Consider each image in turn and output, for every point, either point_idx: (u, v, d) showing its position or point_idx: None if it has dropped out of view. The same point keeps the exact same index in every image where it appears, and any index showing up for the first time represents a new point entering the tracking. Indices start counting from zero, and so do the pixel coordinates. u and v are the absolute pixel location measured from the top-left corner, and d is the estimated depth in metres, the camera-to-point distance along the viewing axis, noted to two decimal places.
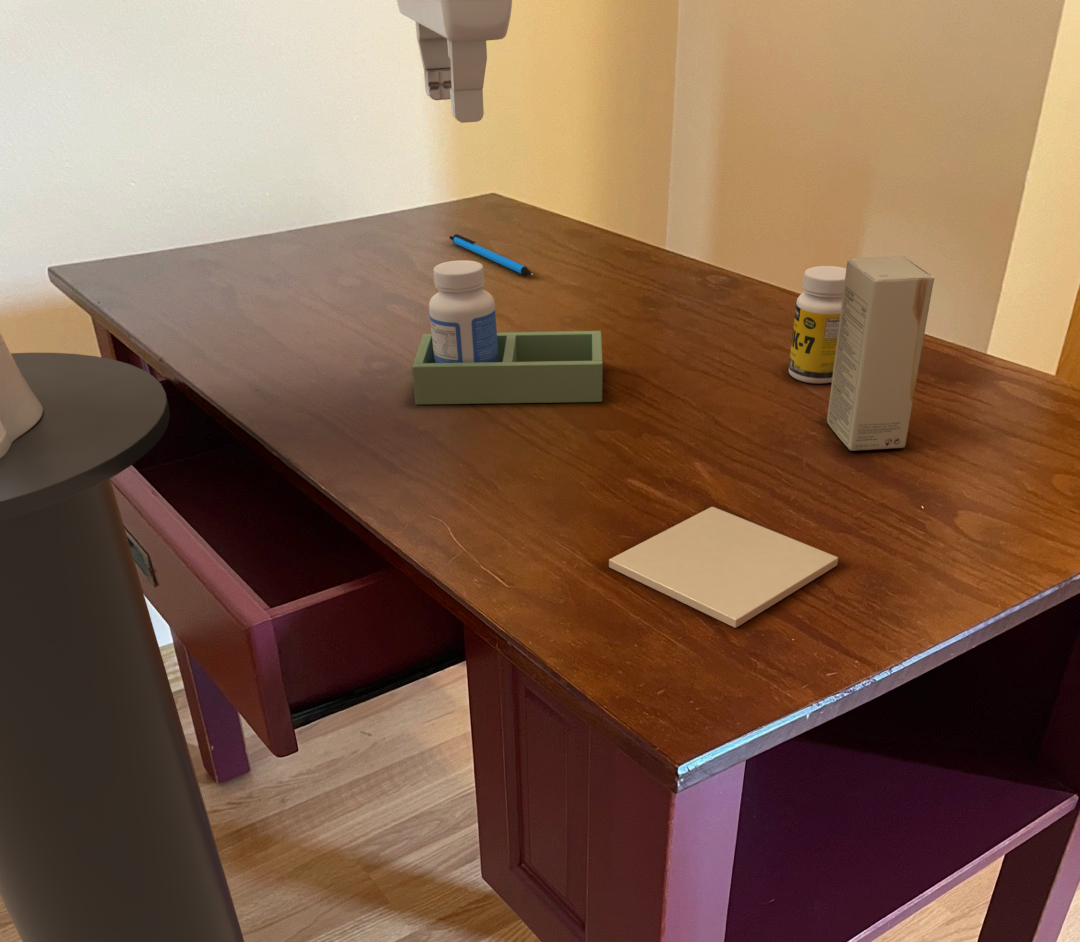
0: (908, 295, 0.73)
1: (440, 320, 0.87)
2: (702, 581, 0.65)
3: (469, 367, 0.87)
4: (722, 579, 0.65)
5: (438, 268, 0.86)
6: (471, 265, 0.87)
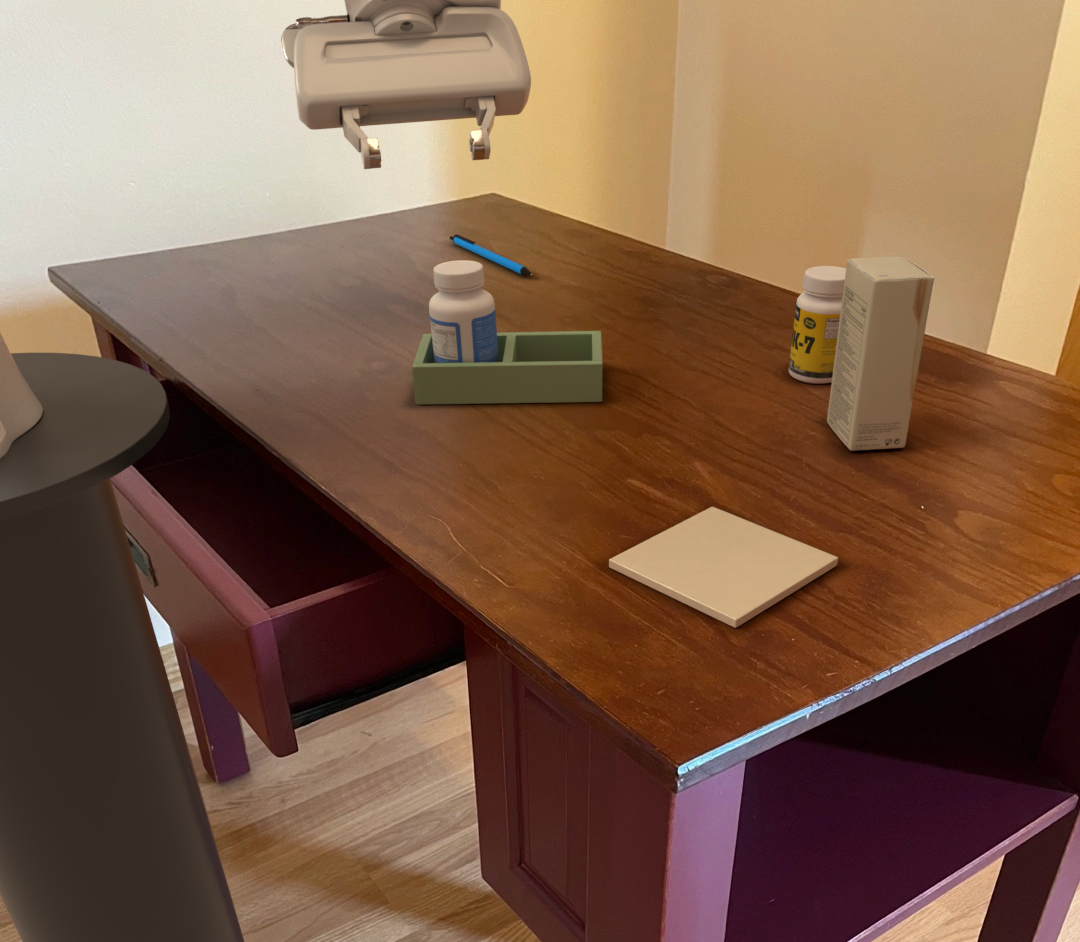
0: (908, 294, 0.73)
1: (440, 320, 0.87)
2: (702, 581, 0.65)
3: (469, 367, 0.87)
4: (722, 579, 0.65)
5: (438, 268, 0.86)
6: (471, 265, 0.87)
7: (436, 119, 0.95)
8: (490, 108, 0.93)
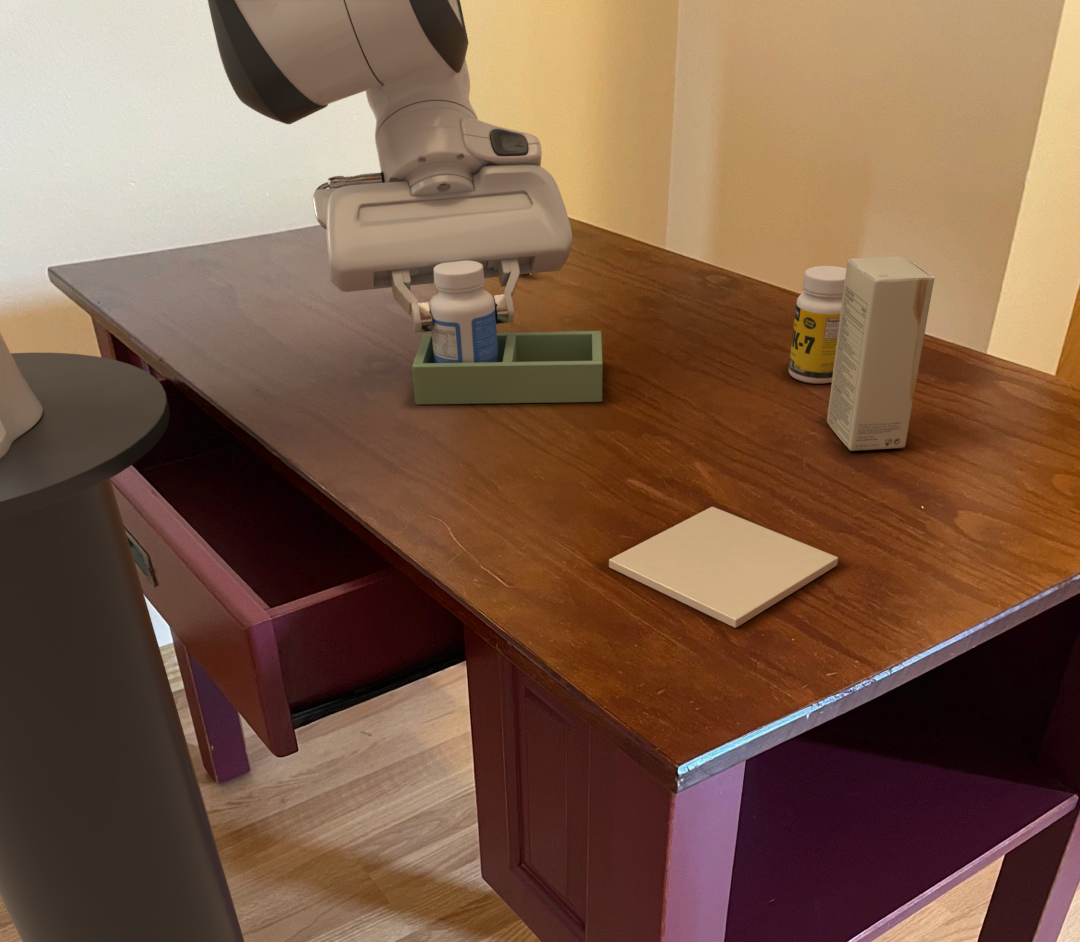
0: (908, 295, 0.73)
1: (440, 320, 0.87)
2: (702, 581, 0.65)
3: (469, 367, 0.87)
4: (722, 579, 0.65)
5: (438, 268, 0.86)
6: (471, 265, 0.87)
7: None
8: (514, 271, 0.89)
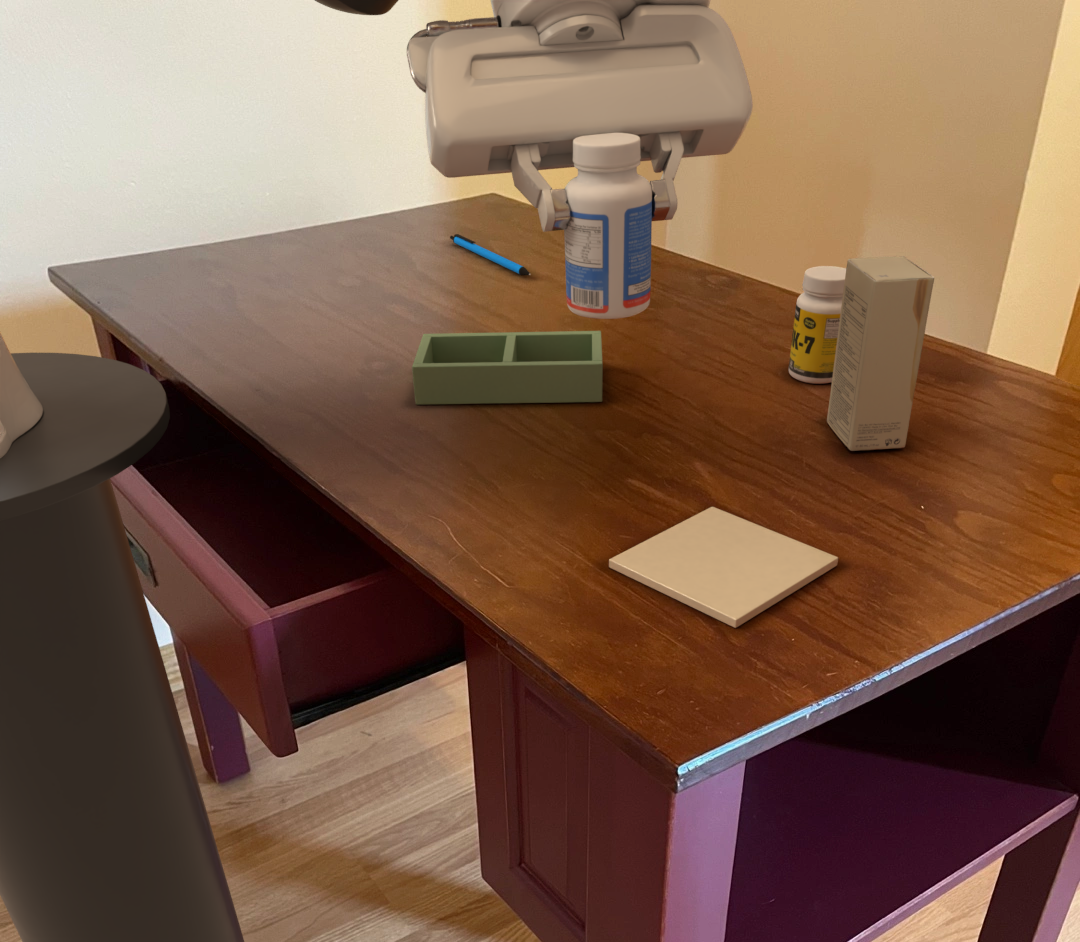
0: (908, 295, 0.73)
1: (582, 211, 0.64)
2: (702, 581, 0.65)
3: (469, 367, 0.87)
4: (722, 579, 0.65)
5: (580, 140, 0.64)
6: (624, 137, 0.64)
7: None
8: (676, 149, 0.66)
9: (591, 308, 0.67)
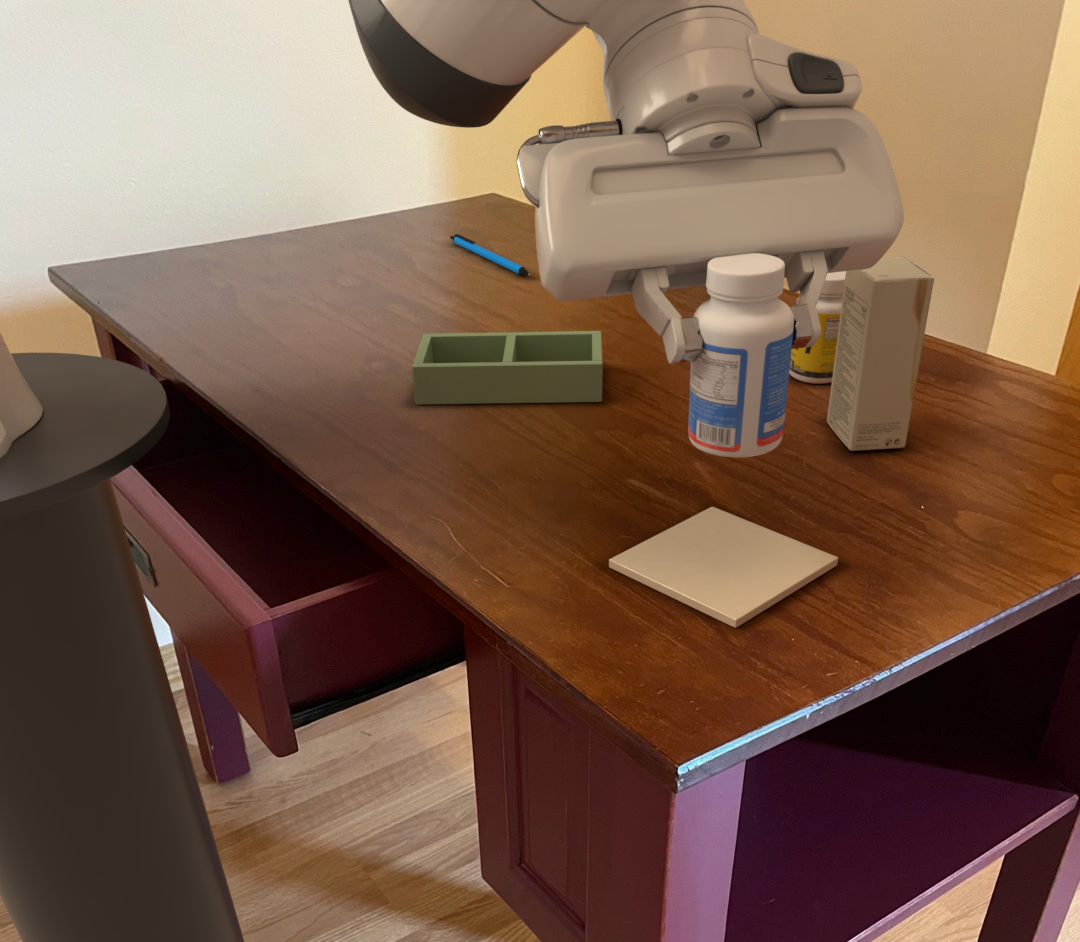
0: (908, 295, 0.73)
1: (717, 344, 0.57)
2: (702, 581, 0.65)
3: (469, 367, 0.87)
4: (722, 579, 0.65)
5: (716, 265, 0.56)
6: (765, 260, 0.56)
7: None
8: (819, 270, 0.59)
9: (720, 446, 0.60)
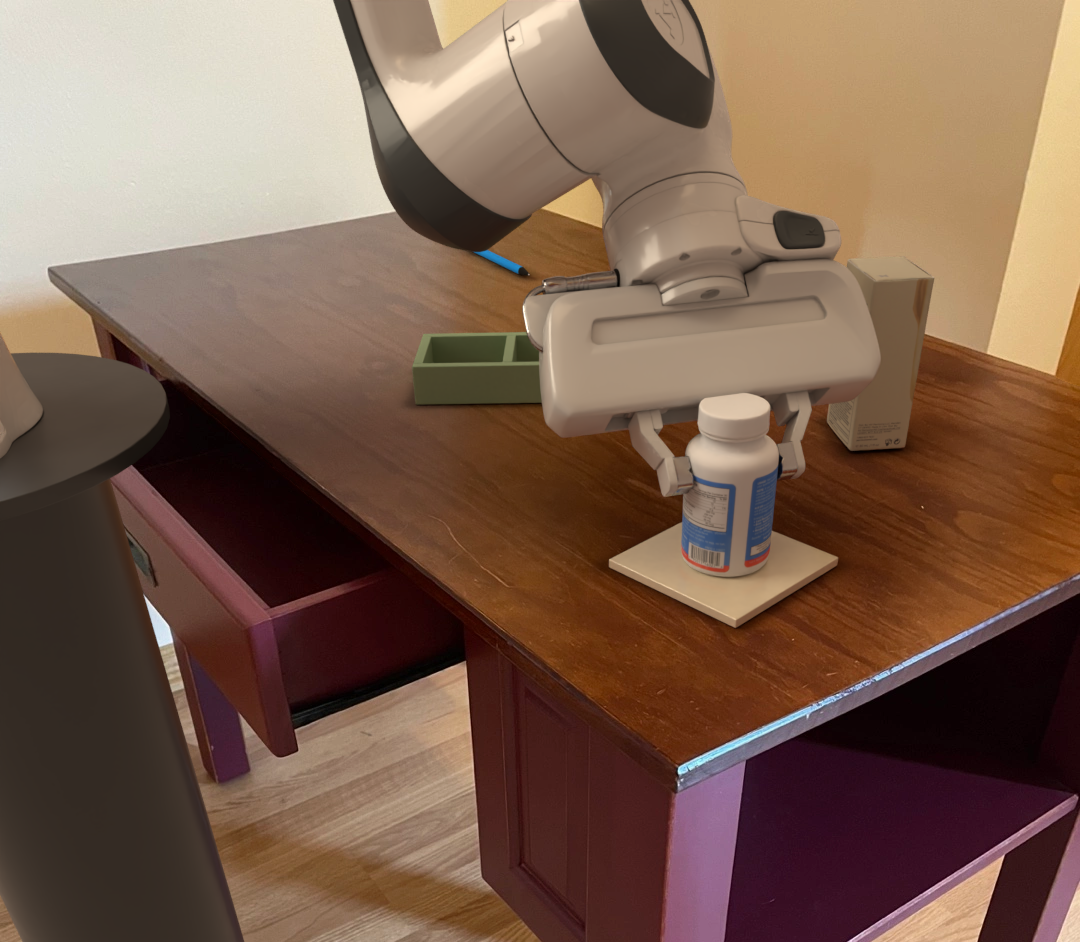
0: (908, 295, 0.73)
1: (708, 479, 0.61)
2: (702, 581, 0.65)
3: (469, 367, 0.87)
4: (722, 579, 0.65)
5: (707, 407, 0.61)
6: (752, 402, 0.61)
7: None
8: (804, 409, 0.63)
9: (710, 567, 0.65)
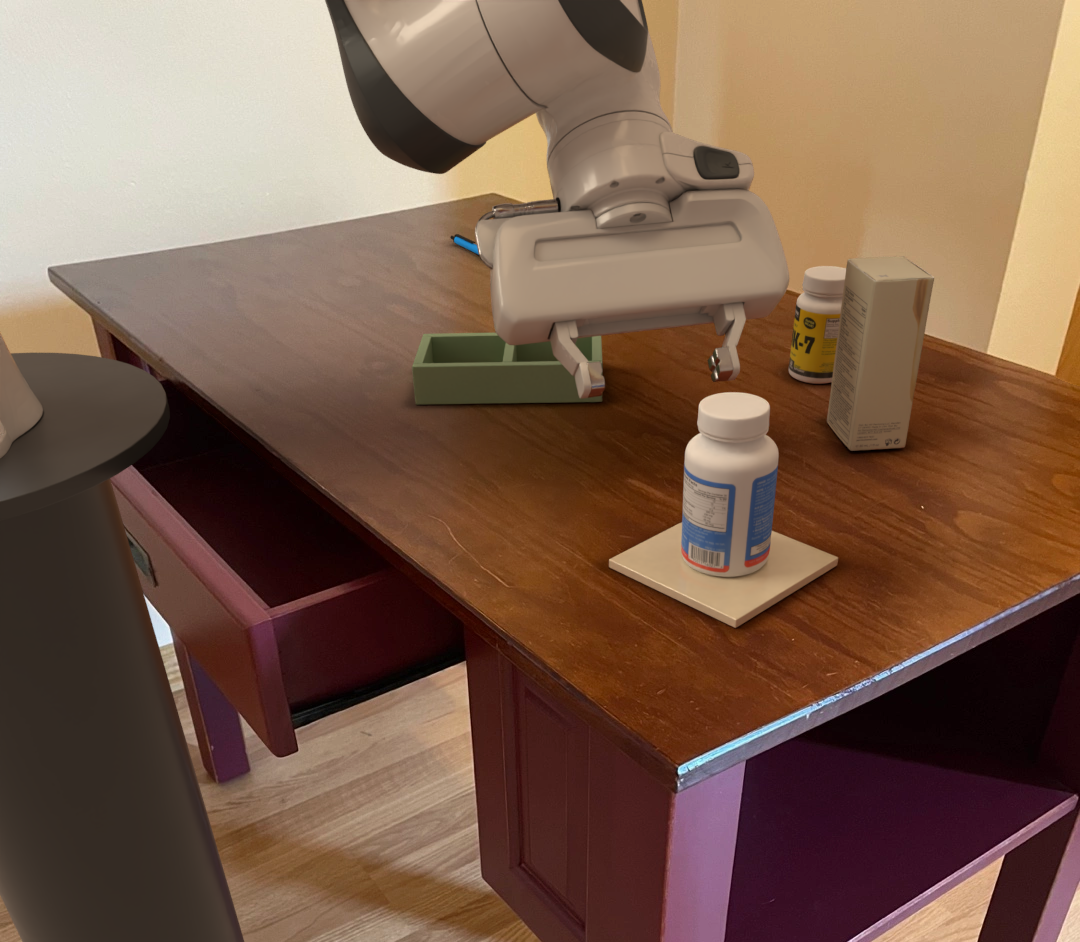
0: (908, 295, 0.73)
1: (707, 479, 0.61)
2: (702, 581, 0.65)
3: (469, 367, 0.87)
4: (722, 579, 0.65)
5: (706, 407, 0.61)
6: (752, 402, 0.61)
7: (665, 327, 0.74)
8: (739, 318, 0.73)
9: (710, 567, 0.65)
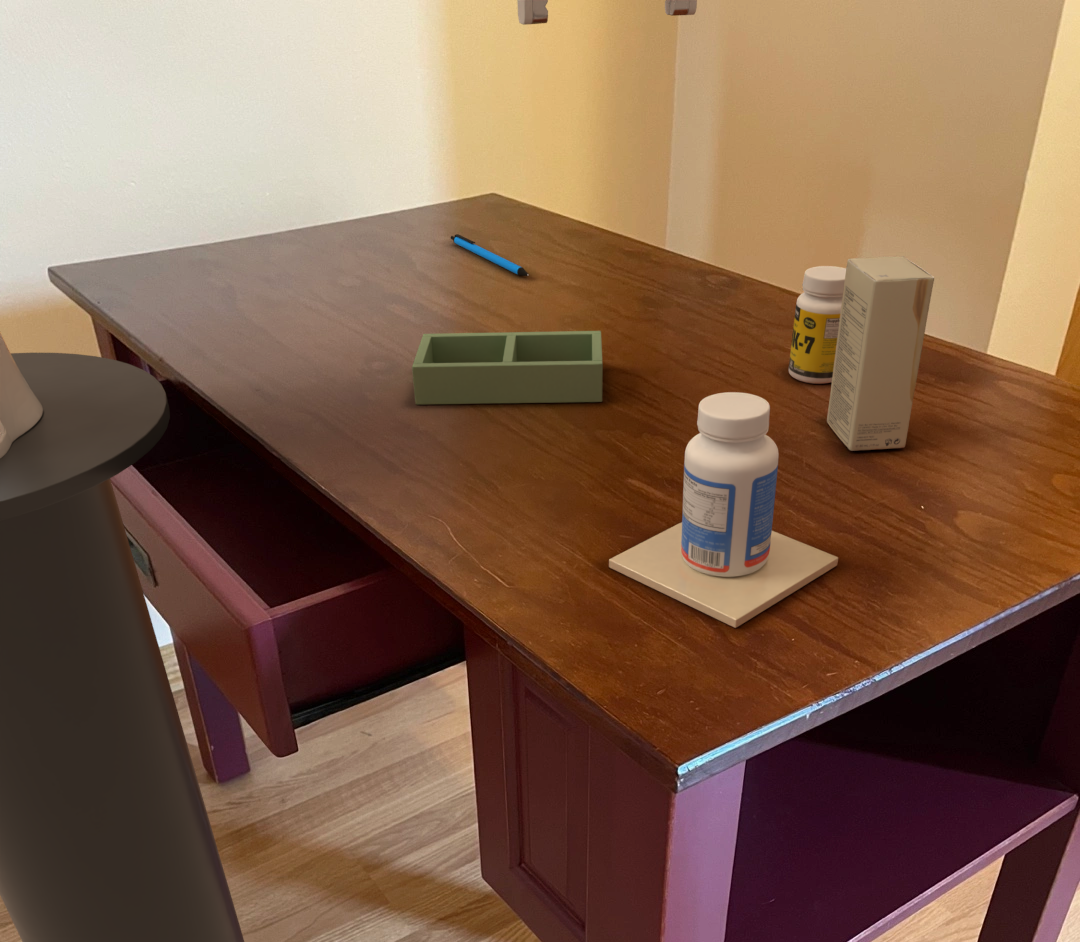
0: (908, 295, 0.73)
1: (707, 479, 0.61)
2: (702, 581, 0.65)
3: (469, 367, 0.87)
4: (722, 579, 0.65)
5: (706, 407, 0.61)
6: (752, 402, 0.61)
7: None
8: None
9: (710, 567, 0.65)
